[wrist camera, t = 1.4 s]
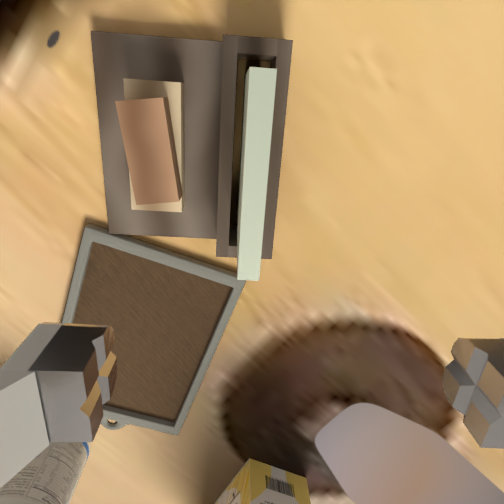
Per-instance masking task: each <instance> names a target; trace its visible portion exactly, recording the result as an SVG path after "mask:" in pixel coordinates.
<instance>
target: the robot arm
mask: <svg viewBox="0 0 504 504" xmlns="http://www.w3.org/2000/svg"><path fill="white" fill-rule="evenodd" d="M114 342H115V337H114V329H113V328H112V327H111V326H109V325H90V324H72V323H66V324H65V323H48V322H44V323H41V324H38V325H37V326H36V327H35V328H34V330H33V331H32V332H31V333H30V334H29V335H28V337H27V338H26V339H25V340H24V341H23V342H22V344H21V345H20V346H19V347H18V348H17V349H16V351H15V352H14V353H13V354H12V355H11V356H10V358H9V359H8V360H7V361H6V362H5V363H4V365H3V366H2V367H1V368H0V488H1V487H2V486H3V485H5V484H6V483H7V482H8V481H9V480H10V479H11V478H13V477H14V476H15V475H16V474H17V473H18V472H19V471H20V470H22V469H23V468H24V467H25V466H26V465H27V464H28V463H30V462H31V461H32V460H33V459H34V458H35V457H36V456H37V455H39V454H40V453H41V452H42V451H43V450H44V449H45V448H47V447H48V446H49V442H93V440H94V437H95V435H96V433H97V430H98V428H99V425H100V423H101V421H102V418H103V416H104V415H103V406H102V405H103V404H105V403H106V402H107V401H109V400H110V399H111V396H112V393H113V391H114V387H115V382H116V378H117V357H116V356H115V355H114V354H113V353H112V352H111V349H112V347H113V345H114ZM451 353H452V355H453V357H454V360H453V361H452V362H451V363H450V364H448V365H447V366H446V368H445V371H444V374H443V390H444V392H445V395H446V398H447V399H448V401H449V402H450V404H451V405H452V407H453V408H455V409H456V410H458V411H459V412H461V413H462V414H464V419H463V423H464V424H465V426H466V427H467V429H468V430H469V432H470V433H471V435H472V436H473V437H474V439H475V440H476V442H477V443H478V445H479V446H480V447H481V448H503V449H504V338H500V339H481V338H458V340H457V341H456V342H455V343H454V345H453V347H452V350H451Z"/></svg>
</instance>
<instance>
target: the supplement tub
mask: <svg viewBox="0 0 504 504" xmlns="http://www.w3.org/2000/svg"><path fill="white" fill-rule="evenodd" d="M90 450H91V442H49V446H48V447H47V448H45V449H44V450H43V451H42V452H41V453H40V454H39V455H37V456H36V457H35V458H34V459H33V460H32V461H31V462H30V463H28V464H27V465H26V466H25V467H24V468H23V469H22V470H20V471H19V472H18V473H17V474H16V475H15V476H14V477H13V478H11V479H10V480H9V481H8V482H7V483H6V484H5V485H3V486H2V487H1V488H0V504H69V503H70V501H71V498H72V496H73V493H74V491H75V488H76V486H77V483H78V481H79V478H80V476H81V473H82V471H83V468H84V466H85V463H86V461H87V458H88V456H89V453H90Z"/></svg>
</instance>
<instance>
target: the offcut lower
mask: <svg viewBox="0 0 504 504" xmlns="http://www.w3.org/2000/svg"><path fill="white" fill-rule="evenodd" d="M123 82H124V98H125V100H137V99H149V98H162V97H168V101H169V107H170V114H171V121H172V127H173V134H174V141H175V147H176V154H177V161H178V167H179V174H180V180H181V187H182V194H183V195H182V197H181V199H180V201H179V202H169V203H156V204H144V205H136V201H135V196H134V192H133V187H132V182H131V177H130V172H129V177H130V192H131V208H132V210H148V211H167V212H182V211H183V208H184V206H185V114H184V83H180V82H167V81H153V80H140V79H126V78H123Z"/></svg>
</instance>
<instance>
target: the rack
mask: <svg viewBox="0 0 504 504" xmlns="http://www.w3.org/2000/svg"><path fill="white" fill-rule="evenodd" d="M91 40H92V51H93V62H94V73H95V84H96V95H97V106H98V117H99V128H100V139H101V150H102V161H103V172H104V183H105V194H106V205H107V216H108V227H109V234H128V235H148V236H168V237H188V238H209V239H217V242H216V257H237V226H230V207H231V186H232V164H233V142H234V121H235V99H236V78H237V59H249V60H262V61H271V62H270V68H273V69H277V76H276V87H275V99H274V111H273V123H272V135H271V146H270V158H269V170H268V182H267V193H266V205H265V217H264V229H263V241H262V252H261V259H272V249H273V239H274V229H275V218H276V208H277V198H278V187H279V177H280V167H281V157H282V146H283V136H284V126H285V115H286V105H287V95H288V85H289V74H290V64H291V54H292V43H293V40H284V39H272V38H260V37H248V36H236V35H224V34H223V42H222V41H209V40H197V39H185V38H173V37H160V36H148V35H136V34H124V33H111V32H99V31H91ZM123 78H126V79H140V80H153V81H167V82H180V83H184V114H185V206H184V208H183V211H182V212H167V211H148V210H132V208H131V192H130V177H129V167H128V162H127V157H126V152H125V148H124V143H123V138H122V133H121V128H120V123H119V118H118V113H117V108H116V103H115V101H124V100H125V98H124V82H123Z"/></svg>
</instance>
